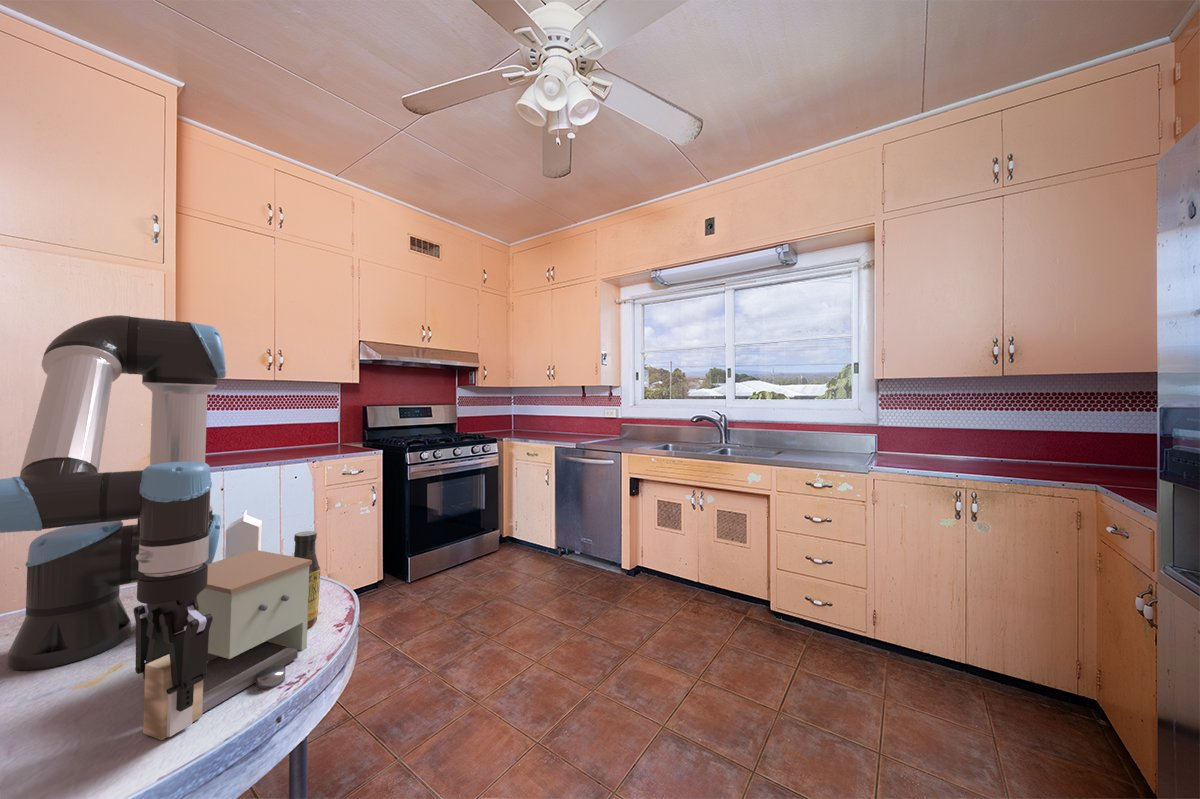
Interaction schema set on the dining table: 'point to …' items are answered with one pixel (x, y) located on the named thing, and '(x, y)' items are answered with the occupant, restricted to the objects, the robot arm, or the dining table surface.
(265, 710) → the dining table surface
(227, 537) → the milk
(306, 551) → the sauce bottle
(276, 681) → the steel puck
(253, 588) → the cabinet
